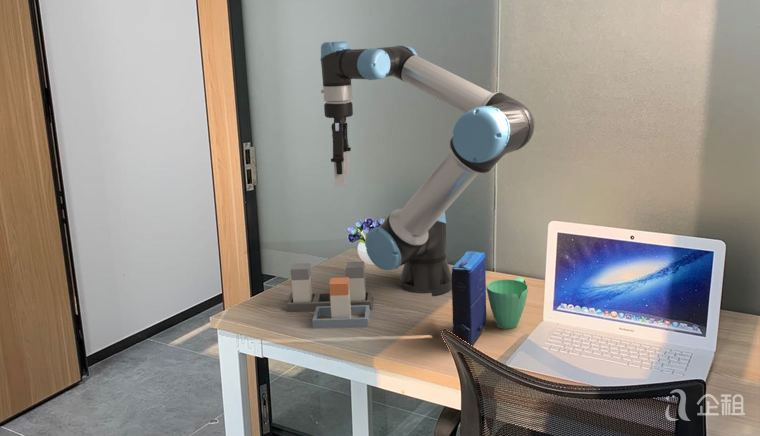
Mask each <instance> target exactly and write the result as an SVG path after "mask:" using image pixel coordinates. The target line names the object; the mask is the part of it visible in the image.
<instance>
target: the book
mask: <svg viewBox="0 0 760 436" xmlns="http://www.w3.org/2000/svg"><path fill="white" fill-rule="evenodd" d="M486 258H487V257H486V254H485V252H479V251H466V252H465V253H464V254H463V255H462V256H461V258H459V260H458V261H456V262H455V264H454V265H453V266H452V268H451V269H452V270H451V274H452V289H451V300H452V301H451V303H452V304H451V306H452V308H451V309H452V334H455V335H456V336H458V337H459V338H461V339H462V340H464V341H466V342H467V343H469V344H470V345H472V347H473V346H474V345H475V343H476V341H477V340H478V339H479V338H480V336H481V334H482V332H483V330H484V329H485V327H486V325H487V285H486V284H487V282H486V279H487V278H486V260H487V259H486Z"/></svg>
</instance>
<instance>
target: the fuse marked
mask: <svg viewBox="0 0 760 436" xmlns="http://www.w3.org/2000/svg"><path fill="white" fill-rule="evenodd" d="M328 285H329V286H328V288H329V292H330V302H331V315H330V316H331V319H332V318H352V315H351V302H350V285H349V277H346V276H344V277H342V276H341V277H331V278H330V281H329V284H328Z"/></svg>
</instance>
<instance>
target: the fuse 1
mask: <svg viewBox="0 0 760 436" xmlns="http://www.w3.org/2000/svg"><path fill="white" fill-rule="evenodd" d="M311 271H312V270H311V263H310V262H307V263H304V262H303V263H293V264H292V265H291V268H290V279H291V280H290V281H291V291H292V293H293V303H296V302H312V301H313V296H312V293H313V285H312V284H313V283H312V272H311Z"/></svg>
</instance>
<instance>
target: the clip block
mask: <svg viewBox="0 0 760 436" xmlns="http://www.w3.org/2000/svg"><path fill="white" fill-rule="evenodd" d="M312 296H313V301H312V302H296V303H293V293H290V294H289V297H288V300H287V301H286V304H285V306H286V310H285V313H315V310H316V307H318V306H331V302H330V291H321V292H320V291H319V292H318V291H317V292H312ZM350 302H351V306H353V305H369V308H370V311H373V303H374V296H373V291H372V290H366V300H365V301H350Z"/></svg>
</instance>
